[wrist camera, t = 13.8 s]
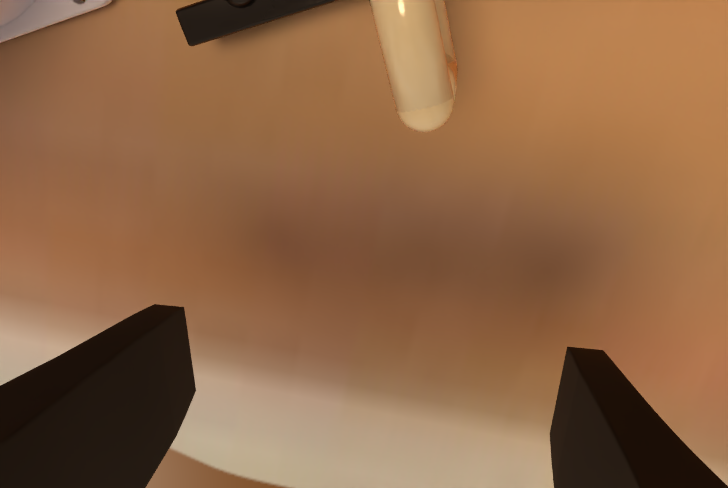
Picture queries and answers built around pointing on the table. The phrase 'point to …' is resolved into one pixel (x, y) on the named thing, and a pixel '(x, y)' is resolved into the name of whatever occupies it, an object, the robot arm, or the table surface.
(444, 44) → the beige mug
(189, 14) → the rack
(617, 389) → the robot arm
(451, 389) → the table surface
